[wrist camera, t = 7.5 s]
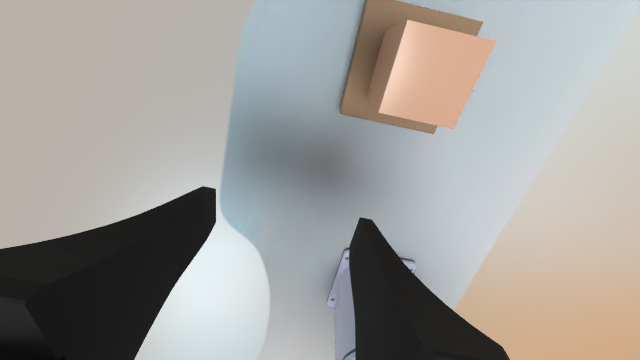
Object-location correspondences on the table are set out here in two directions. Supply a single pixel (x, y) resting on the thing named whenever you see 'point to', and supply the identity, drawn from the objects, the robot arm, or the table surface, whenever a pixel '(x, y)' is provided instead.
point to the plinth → (373, 24)
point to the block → (426, 72)
